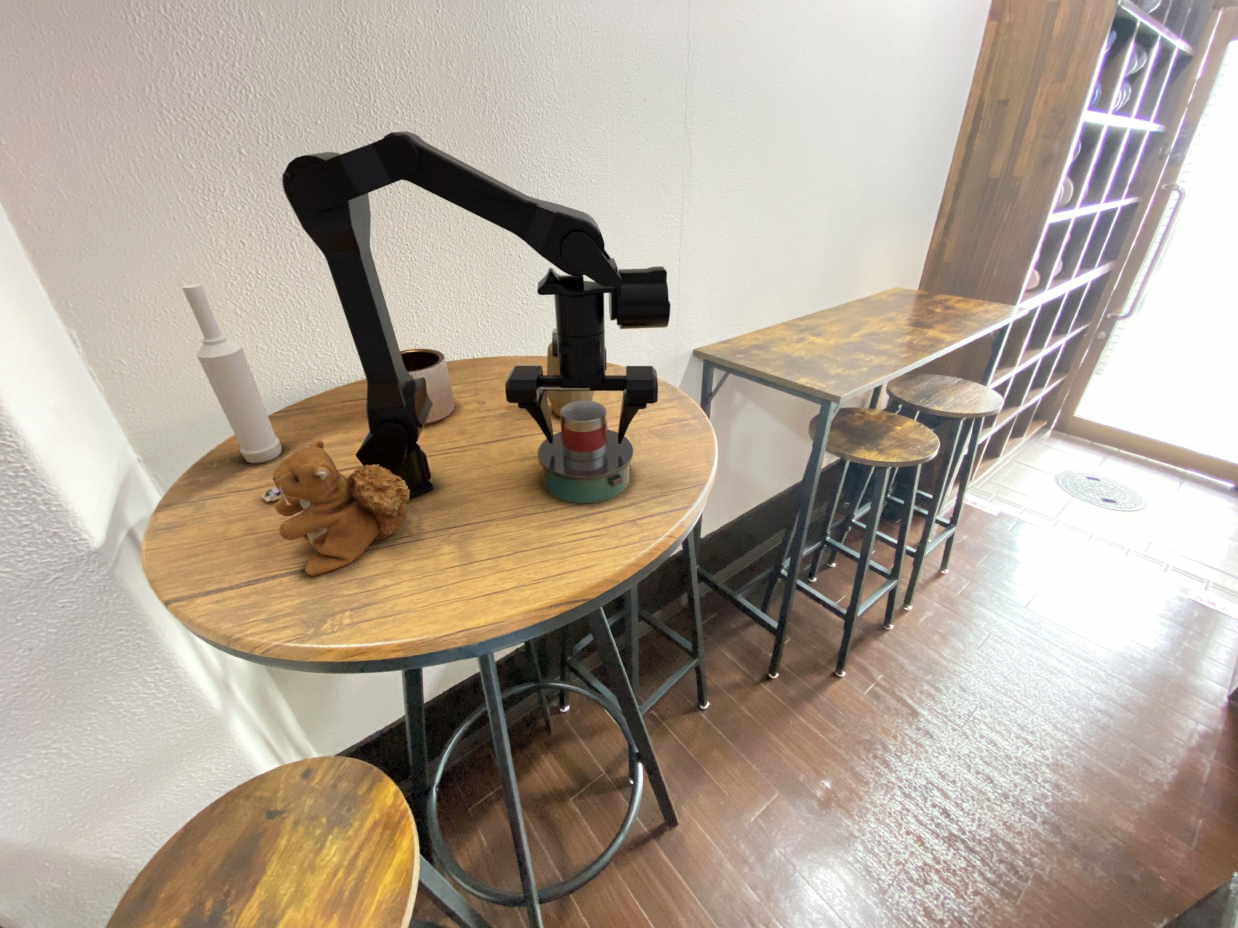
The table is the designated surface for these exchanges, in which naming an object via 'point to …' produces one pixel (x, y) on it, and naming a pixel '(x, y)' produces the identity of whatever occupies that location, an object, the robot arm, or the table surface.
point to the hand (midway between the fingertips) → (585, 442)
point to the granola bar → (272, 495)
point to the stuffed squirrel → (337, 506)
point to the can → (584, 430)
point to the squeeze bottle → (562, 397)
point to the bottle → (233, 383)
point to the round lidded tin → (586, 471)
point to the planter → (431, 379)
